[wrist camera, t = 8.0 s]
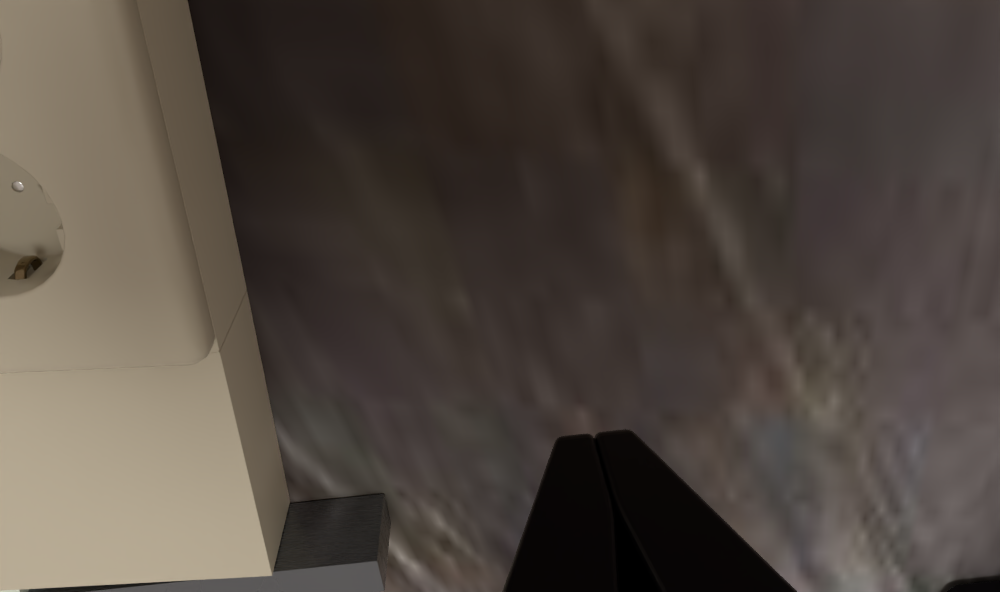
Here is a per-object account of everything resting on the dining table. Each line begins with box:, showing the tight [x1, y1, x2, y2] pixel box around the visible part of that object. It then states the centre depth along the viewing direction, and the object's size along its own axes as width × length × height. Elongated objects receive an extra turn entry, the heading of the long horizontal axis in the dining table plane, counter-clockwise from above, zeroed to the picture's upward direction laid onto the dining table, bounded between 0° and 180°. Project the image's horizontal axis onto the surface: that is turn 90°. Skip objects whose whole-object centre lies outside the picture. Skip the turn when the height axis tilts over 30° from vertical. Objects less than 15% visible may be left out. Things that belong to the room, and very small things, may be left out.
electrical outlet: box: [0, 0, 290, 591], centre depth 17 cm, size 7×4×18 cm
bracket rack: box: [0, 494, 391, 592], centre depth 17 cm, size 23×11×2 cm, turn 5°
